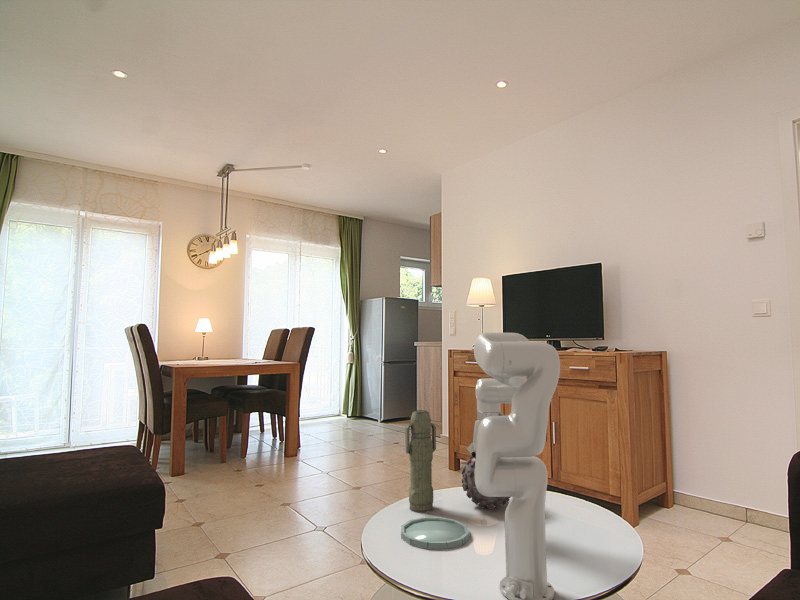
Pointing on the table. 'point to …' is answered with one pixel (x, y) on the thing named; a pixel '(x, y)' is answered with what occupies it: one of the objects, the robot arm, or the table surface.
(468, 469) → the ornament
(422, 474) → the thermos
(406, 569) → the table surface
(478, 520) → the table surface
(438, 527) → the dish
